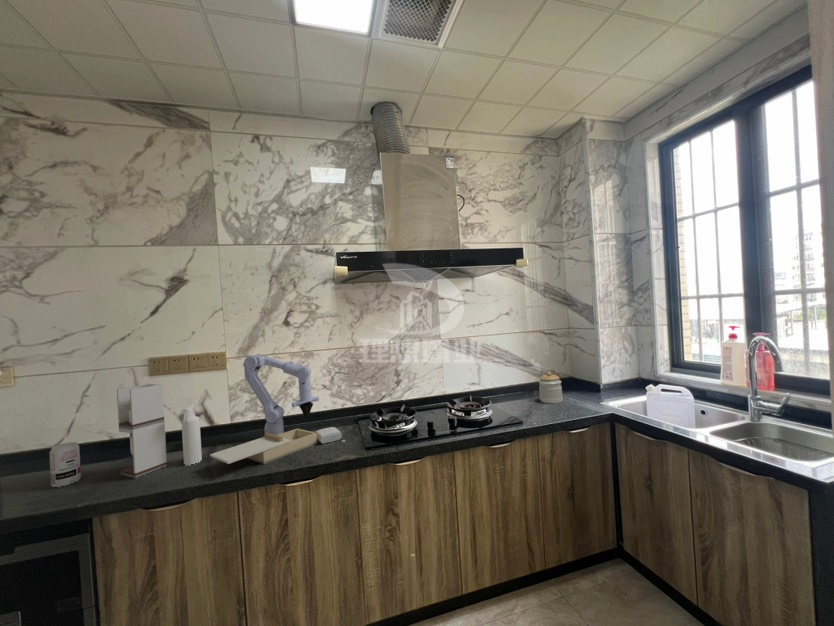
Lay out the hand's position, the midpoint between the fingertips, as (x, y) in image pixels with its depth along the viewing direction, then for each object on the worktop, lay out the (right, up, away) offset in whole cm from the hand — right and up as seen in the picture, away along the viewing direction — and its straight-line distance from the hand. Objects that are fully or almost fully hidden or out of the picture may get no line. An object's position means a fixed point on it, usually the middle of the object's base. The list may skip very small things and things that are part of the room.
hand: (306, 418), depth 173 cm
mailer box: (-6, -9, -17) cm, 20 cm away
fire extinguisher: (-42, -12, -23) cm, 49 cm away
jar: (+136, -1, +35) cm, 141 cm away
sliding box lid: (-14, -4, -28) cm, 31 cm away
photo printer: (+15, -6, -11) cm, 20 cm away
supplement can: (-83, -15, -37) cm, 92 cm away
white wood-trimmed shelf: (-58, -13, -30) cm, 66 cm away
